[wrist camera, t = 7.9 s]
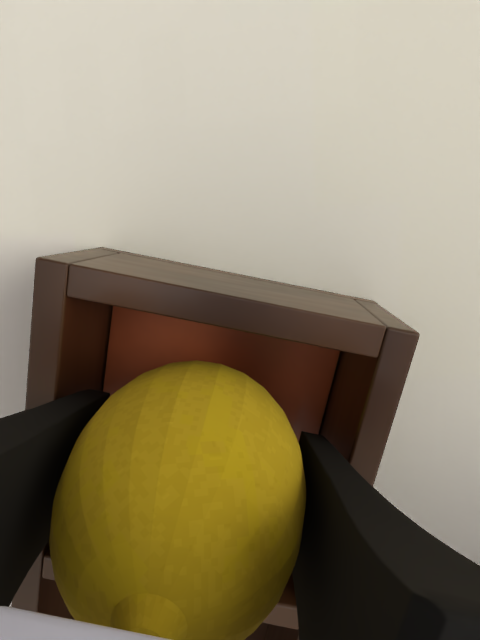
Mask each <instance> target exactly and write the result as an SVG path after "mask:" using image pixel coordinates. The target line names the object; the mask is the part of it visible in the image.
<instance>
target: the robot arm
mask: <svg viewBox="0 0 480 640" xmlns="http://www.w3.org/2000/svg"><path fill="white" fill-rule="evenodd" d="M109 397H110V393H107V392H102V391H97V390H92V389H87V390H83V391H79V392H76V393H73V394H71V395H68V396H65V397H62V398H60V399H57V400H54V401H51V402H48V403H46V404H43V405H40V406H37V407H35V408H32V409H29V410H25V411H22V412H19V413H16V414H13V415H10V416H7V417H3V418H0V640H171V639H166V638H161V637H156V636H151V635H146V634H141V633H136V632H131V631H126V630H121V629H117V628H112V627H107V626H102V625H97V624H92V623H87V622H82V621H77V620H72V619H67V618H62V617H57V616H52V615H47V614H42V613H37V612H32V611H27V610H22V609H17V608H12V607H9V605H10V603H11V601H12V600H13V598H14V596H15V594H16V593H17V591H18V589H19V587H20V586H21V584H22V582H23V580H24V578H25V577H26V575H27V573H28V571H29V570H30V568H31V567H32V565H33V564H34V562H35V561H36V559H37V557H38V556H39V554H40V553H41V552H42V550H43V549H44V547H45V546H46V544H47V543H48V542H49V537H50V527H51V517H52V508H53V501H54V497H55V493H56V489H57V486H58V483H59V481H60V478H61V475H62V473H63V470H64V468H65V466H66V463H67V461H68V458H69V456H70V454H71V451H72V449H73V447H74V445H75V443H76V440H77V439H78V437H79V435H80V433H81V432H82V430H83V429H84V427H85V426H86V425H87V423H88V422H89V421H90V419H91V418H92V417H93V416H94V415H95V413H96V412H97V411H98V410H99V409H100V407H101V406H102V405H103V404H104V403H105V401H106V400H107V399H108V398H109ZM299 446H300V450H301V455H302V461H303V467H304V474H305V480H306V507H305V515H304V523H303V531H302V538H301V544H300V549H299V553H298V556H297V560H296V563H295V566H294V568H293V571H292V575H293V583H294V590H295V598H296V605H297V616H298V627H299V640H480V566H479V565H477V564H476V563H474V562H472V561H471V560H469V559H467V558H466V557H464V556H462V555H461V554H459V553H458V552H456V551H455V550H453V549H452V548H450V547H449V546H447V545H446V544H444V543H443V542H441V541H440V540H438V539H437V538H435V537H434V536H432V535H431V534H429V533H428V532H427V531H425V530H424V529H422V528H421V527H420V526H418V525H417V524H416V523H414V522H413V521H412V520H411V519H409V518H408V517H407V516H406V515H404V514H403V513H402V512H401V511H399V510H398V509H397V508H396V507H394V506H393V505H392V504H391V503H390V502H389V501H387V500H386V499H385V498H384V497H383V496H382V495H381V494H380V493H379V492H378V491H377V490H376V489H374V488H373V487H372V486H371V485H370V484H369V483H368V482H367V481H366V480H365V479H364V478H363V477H362V476H361V475H360V474H359V473H358V472H357V471H356V470H355V469H354V468H353V467H352V465H351V464H350V463H349V462H348V461H347V460H346V459H345V458H344V457H343V456H342V455H341V454H340V453H339V451H338V450H337V449H336V448H335V447H334V446H333V445H332V444H331V443H330V442H329V441H328V440H327V439H326V438H325V437H324V436H323V435H318V434H313V433H308V432H303V431H301V435H300V439H299Z"/></svg>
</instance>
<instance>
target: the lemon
mask: <svg viewBox="0 0 480 640" xmlns="http://www.w3.org/2000/svg"><path fill="white" fill-rule="evenodd" d="M305 507H306V480H305V474H304V467H303V461H302V455H301V450H300V446H299V443H298V440H297V438H296V435H295V433H294V431H293V429H292V427H291V425H290V423H289V421H288V419H287V416H286V414H285V413H284V411H283V409H282V408H281V407H280V406H279V404H278V403H277V402H276V401H275V400H274V399H273V397H272V396H271V395H270V394H269V393H268V391H267V390H266V389H265V388H264V387H263V386H261V385H260V384H259V383H257V382H256V381H255V380H253V379H252V378H250V377H249V376H248V375H246V374H245V373H243V372H240V371H238V370H235V369H233V368H230V367H228V366H225V365H223V364H219V363H212V362H205V361H198V360H195V361H184V362H173V363H169V364H166V365H164V366H161V367H158V368H155V369H153V370H150V371H147V372H144V373H143V374H141V375H139V376H138V377H136V378H135V379H133V380H132V381H130V382H129V383H128V384H126V385H125V386H123V387H122V388H120V389H119V390H117V391H116V392H115V393H114V394H112V395H111V396H110V397H109V398H108V399H107V400H106V401H105V403H104V404H103V405H102V406H101V407H100V409H99V410H98V411H97V412H96V413H95V415H94V416H93V417H92V418H91V419H90V421H89V422H88V423H87V425H86V426H85V427H84V429H83V430H82V432H81V433H80V435H79V437H78V439H77V440H76V443H75V445H74V447H73V449H72V451H71V454H70V456H69V458H68V461H67V463H66V466H65V468H64V470H63V473H62V475H61V478H60V481H59V483H58V486H57V489H56V493H55V497H54V501H53V508H52V517H51V527H50V537H49V547H50V556H51V562H52V567H53V572H54V578H55V582H56V584H57V587H58V589H59V592H60V594H61V596H62V598H63V600H64V602H65V604H66V606H67V608H68V610H69V612H70V614H71V615H72V617H73V618H74V619H75V620H77V621H82V622H87V623H92V624H97V625H102V626H107V627H112V628H117V629H121V630H126V631H131V632H136V633H141V634H146V635H151V636H156V637H161V638H166V639H171V640H244V639H246V638H247V637H248V636H250V635H251V634H252V633H253V632H254V631H255V630H256V629H257V628H258V627H259V626H260V624H261V623H262V622H263V621H264V620H265V619H266V617H267V616H268V615H269V614H270V613H271V611H272V610H273V609H274V607H275V606H276V605H277V603H278V602H279V600H280V597H281V595H282V593H283V591H284V589H285V586H286V584H287V582H288V580H289V577H290V575H291V573H292V571H293V568H294V566H295V563H296V560H297V556H298V553H299V549H300V544H301V538H302V531H303V523H304V515H305Z"/></svg>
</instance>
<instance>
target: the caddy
mask: <svg viewBox="0 0 480 640" xmlns="http://www.w3.org/2000/svg"><path fill="white" fill-rule="evenodd" d="M418 339H419V333H418V332H417V331H415V330H414V329H412V328H411V327H409V326H408V325H407V324H405V323H404V322H402V321H401V320H400V319H398V318H397V317H395V316H394V315H392V314H391V313H390V312H388V311H387V310H385V309H384V308H382V307H381V306H380V305H378V304H377V303H376V302H374V301H371V300H366V299H361V298H356V297H351V296H346V295H341V294H336V293H331V292H326V291H321V290H316V289H311V288H306V287H300V286H295V285H290V284H285V283H280V282H275V281H270V280H265V279H260V278H255V277H250V276H245V275H240V274H235V273H230V272H225V271H220V270H215V269H210V268H204V267H199V266H194V265H189V264H184V263H179V262H174V261H169V260H164V259H159V258H154V257H149V256H144V255H139V254H134V253H129V252H124V251H119V250H114V249H108V248H103V247H100V248H95V249H88V250H82V251H75V252H69V253H62V254H56V255H50V256H43V257H37V258H36V264H35V279H34V293H33V307H32V322H31V336H30V350H29V364H28V379H27V393H26V407H25V410H29V409H32V408H35V407H37V406H40V405H43V404H46V403H48V402H51V401H54V400H57V399H60V398H62V397H65V396H68V395H71V394H73V393H76V392H79V391H83V390H87V389H92V390H97V391H102V392H107V393H110V396H111V395H112V394H114V393H115V392H116V391H117V390H119V389H120V388H122V387H123V386H125V385H126V384H128V383H129V382H130V381H132V380H133V379H135V378H136V377H138V376H139V375H141V374H143V373H144V372H147V371H150V370H153V369H155V368H158V367H161V366H164V365H166V364H169V363H173V362H184V361H195V360H198V361H205V362H212V363H219V364H223V365H225V366H228V367H230V368H233V369H235V370H238V371H240V372H243V373H245V374H246V375H248V376H249V377H250V378H252V379H253V380H255V381H256V382H257V383H259V384H260V385H261V386H263V387H264V388H265V389H266V390H267V391H268V393H269V394H270V395H271V396H272V397H273V399H274V400H275V401H276V402H277V403H278V404H279V406H280V407H281V408H282V409H283V411H284V413H285V414H286V416H287V419H288V421H289V423H290V425H291V427H292V429H293V431H294V433H295V435H296V438H297V440H298V443H299V439H300V435H301V431H303V432H308V433H313V434H318V435H323V436H324V437H325V438H326V439H327V440H328V441H329V442H330V443H331V444H332V445H333V446H334V447H335V448H336V449H337V450H338V451H339V453H340V454H341V455H342V456H343V457H344V458H345V459H346V460H347V461H348V462H349V463H350V464H351V465H352V467H353V468H354V469H355V470H356V471H357V472H358V473H359V474H360V475H361V476H362V477H363V478H364V479H365V480H366V481H367V482H368V483H369V484H370V485H371V486H372V487H373V484H374V481H375V478H376V475H377V471H378V468H379V465H380V462H381V458H382V455H383V452H384V449H385V445H386V442H387V439H388V436H389V433H390V429H391V426H392V423H393V420H394V416H395V413H396V410H397V407H398V403H399V400H400V397H401V394H402V391H403V387H404V384H405V381H406V378H407V374H408V371H409V368H410V365H411V362H412V358H413V355H414V352H415V349H416V345H417V342H418ZM12 608H17V609H22V610H27V611H32V612H37V613H42V614H47V615H52V616H57V617H62V618H67V619H72V620H75V619H74V618H73V617H72V615H71V614H70V612H69V610H68V608H67V606H66V604H65V602H64V600H63V598H62V596H61V594H60V592H59V589H58V587H57V584H56V582H55V578H54V572H53V567H52V562H51V556H50V547H49V542H48V543H47V544H46V546H45V547H44V549H43V550H42V552H41V553H40V554H39V556H38V557H37V559H36V561H35V562H34V564H33V565H32V567H31V568H30V570H29V571H28V573H27V575H26V577H25V578H24V580H23V582H22V584H21V586H20V587H19V589H18V591H17V593H16V594H15V596H14V598H13V600H12ZM244 640H299V627H298V616H297V605H296V598H295V590H294V583H293V575H292V573H291V575H290V577H289V580H288V582H287V584H286V586H285V589H284V591H283V593H282V595H281V597H280V600H279V602H278V603H277V605H276V606H275V607H274V609H273V610H272V611H271V613H270V614H269V615H268V616H267V617H266V619H265V620H264V621H263V622H262V623H261V624H260V626H259V627H258V628H257V629H256V630H255V631H254V632H253V633H252V634H251V635H250V636H248V637H247V638H246V639H244Z"/></svg>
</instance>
